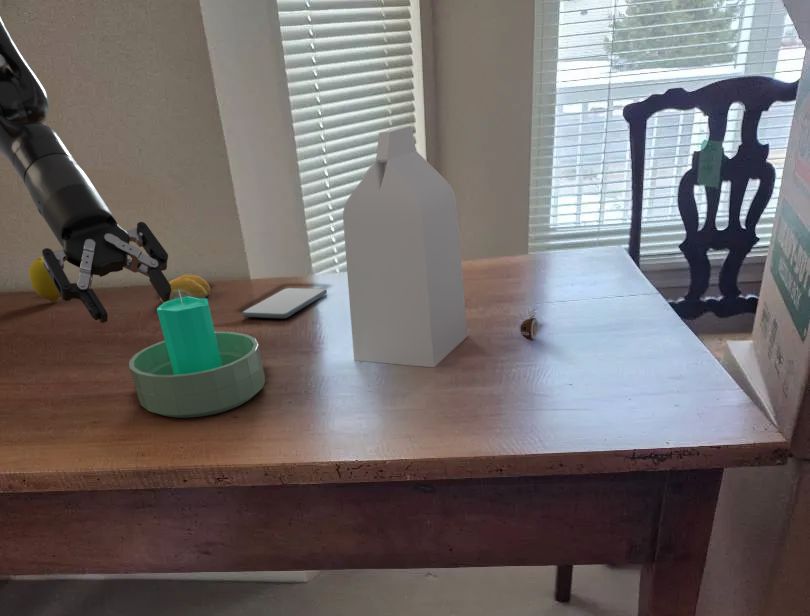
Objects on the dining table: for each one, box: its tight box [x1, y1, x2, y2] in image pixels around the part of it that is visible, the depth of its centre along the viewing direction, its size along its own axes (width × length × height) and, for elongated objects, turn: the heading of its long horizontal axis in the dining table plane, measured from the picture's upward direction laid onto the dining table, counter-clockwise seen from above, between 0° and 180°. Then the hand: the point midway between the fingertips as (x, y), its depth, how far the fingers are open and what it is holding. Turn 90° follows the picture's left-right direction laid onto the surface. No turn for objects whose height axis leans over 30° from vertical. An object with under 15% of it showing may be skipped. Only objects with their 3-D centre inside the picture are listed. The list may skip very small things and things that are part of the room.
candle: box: [156, 290, 222, 375], centre depth 87 cm, size 6×6×12 cm
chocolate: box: [519, 308, 540, 341], centre depth 97 cm, size 3×2×4 cm
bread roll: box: [159, 274, 211, 304], centre depth 128 cm, size 8×9×4 cm
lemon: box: [28, 256, 61, 303], centre depth 133 cm, size 6×6×8 cm
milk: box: [342, 125, 469, 368], centre depth 92 cm, size 12×12×26 cm
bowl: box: [128, 331, 266, 419], centre depth 89 cm, size 15×15×6 cm
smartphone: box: [241, 287, 328, 319], centre depth 120 cm, size 8×1×15 cm
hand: (137, 308), depth 92 cm, fingers open, 8 cm apart
